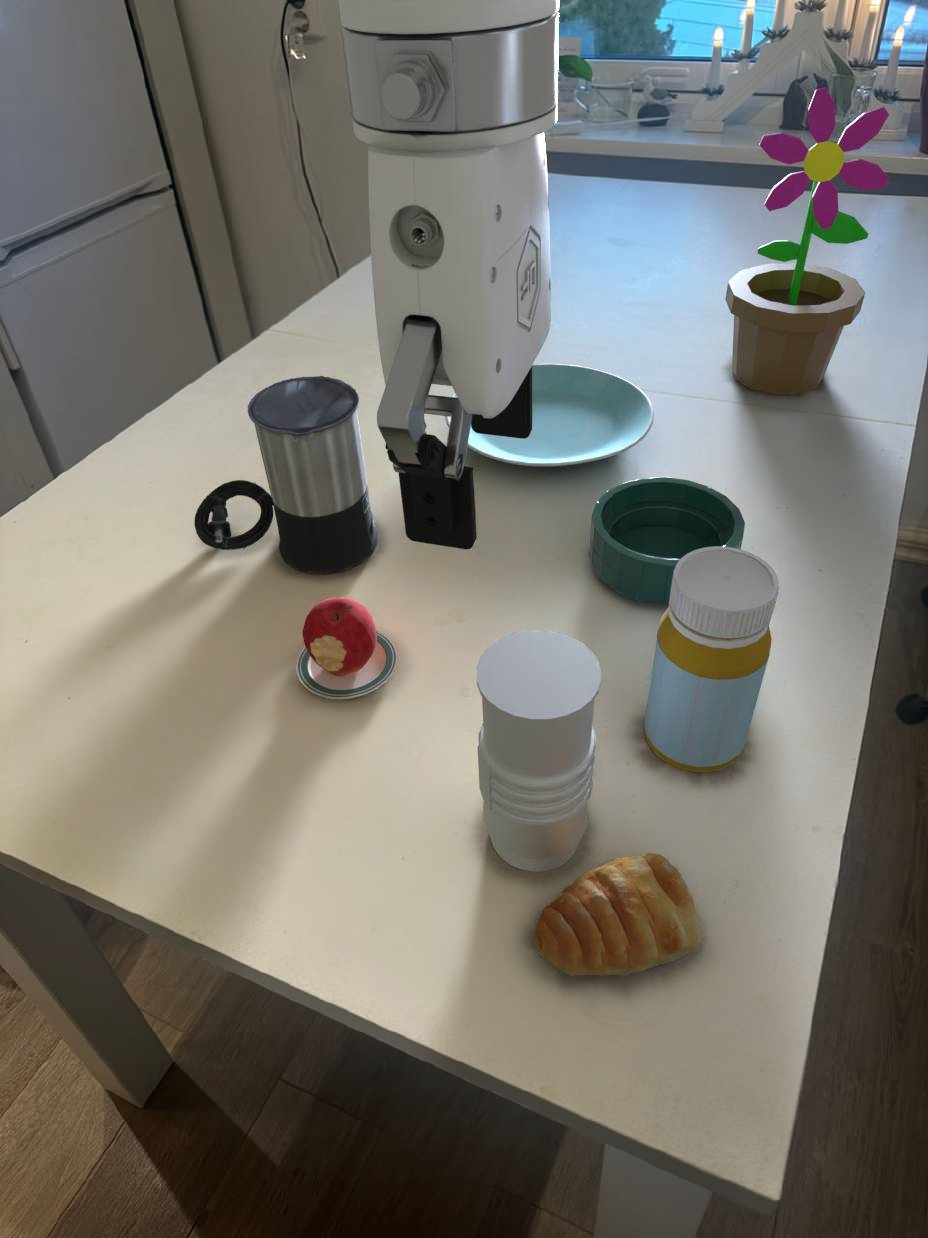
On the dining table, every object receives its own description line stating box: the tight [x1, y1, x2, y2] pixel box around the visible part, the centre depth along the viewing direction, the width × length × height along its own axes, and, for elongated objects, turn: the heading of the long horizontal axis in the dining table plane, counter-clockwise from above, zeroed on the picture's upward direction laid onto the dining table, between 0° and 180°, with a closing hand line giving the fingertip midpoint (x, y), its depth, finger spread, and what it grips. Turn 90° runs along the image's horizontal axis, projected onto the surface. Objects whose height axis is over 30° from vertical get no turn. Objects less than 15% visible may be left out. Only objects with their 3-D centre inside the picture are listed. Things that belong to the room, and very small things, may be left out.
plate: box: [444, 363, 655, 468], centre depth 94 cm, size 22×22×3 cm
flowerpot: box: [724, 86, 890, 395], centre depth 92 cm, size 14×14×30 cm
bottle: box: [643, 546, 780, 773], centre depth 57 cm, size 7×7×15 cm
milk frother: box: [193, 375, 379, 575], centre depth 77 cm, size 14×16×15 cm
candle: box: [476, 629, 603, 873], centre depth 52 cm, size 7×7×15 cm
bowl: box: [588, 476, 746, 606], centre depth 75 cm, size 13×13×5 cm
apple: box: [295, 597, 398, 700], centre depth 67 cm, size 8×8×6 cm
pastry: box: [534, 851, 704, 977], centre depth 51 cm, size 9×7×4 cm
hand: (474, 483), depth 43 cm, fingers open, 9 cm apart
